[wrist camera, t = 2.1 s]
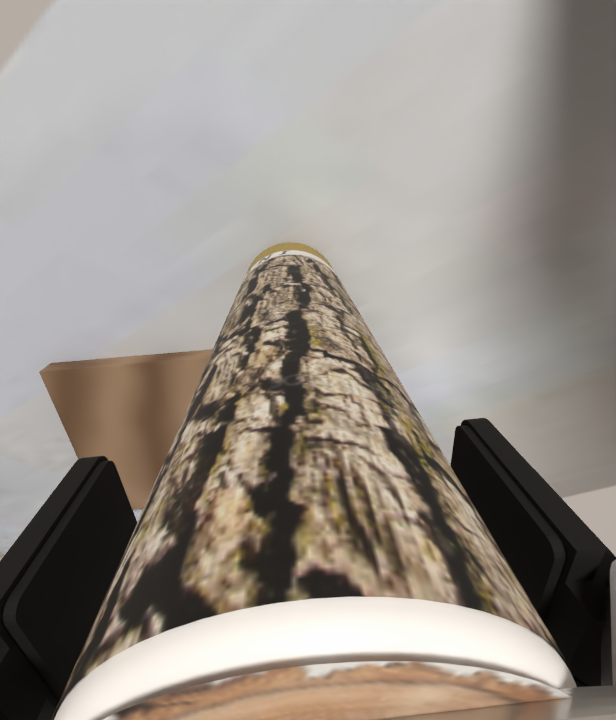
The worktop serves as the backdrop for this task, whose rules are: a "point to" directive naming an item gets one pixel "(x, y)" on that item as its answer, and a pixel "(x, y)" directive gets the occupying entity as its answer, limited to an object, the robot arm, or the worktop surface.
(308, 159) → the worktop surface
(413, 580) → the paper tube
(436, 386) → the worktop surface
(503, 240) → the worktop surface
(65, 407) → the board
